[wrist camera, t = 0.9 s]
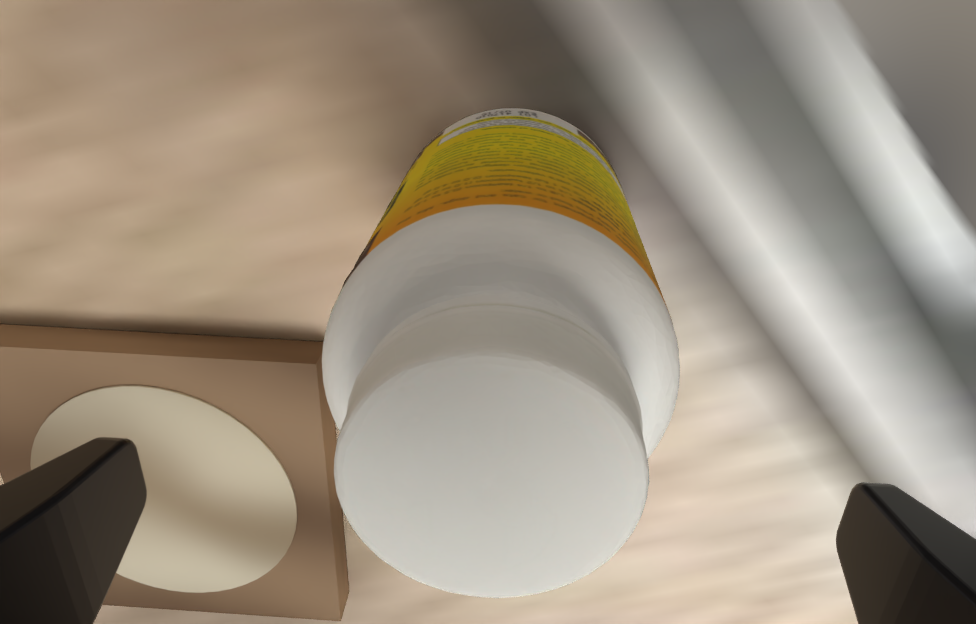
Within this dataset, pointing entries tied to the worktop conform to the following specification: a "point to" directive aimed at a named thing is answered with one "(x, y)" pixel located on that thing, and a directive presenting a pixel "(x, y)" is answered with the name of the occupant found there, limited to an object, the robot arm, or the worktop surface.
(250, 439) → the walnut board
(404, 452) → the supplement bottle
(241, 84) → the worktop surface
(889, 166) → the worktop surface
